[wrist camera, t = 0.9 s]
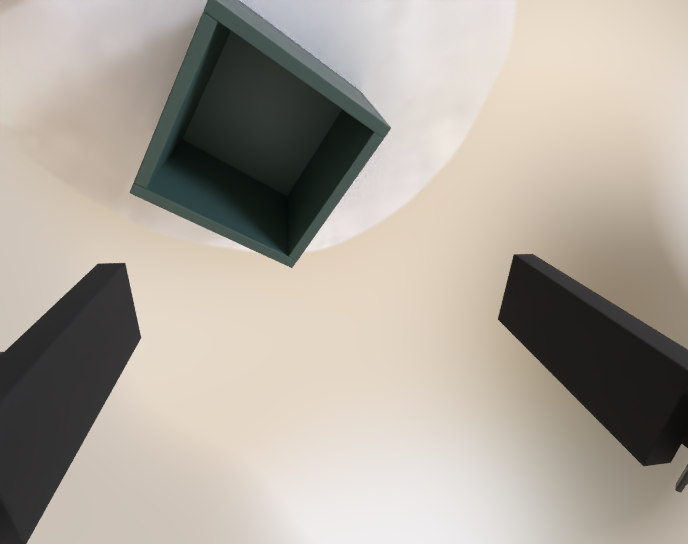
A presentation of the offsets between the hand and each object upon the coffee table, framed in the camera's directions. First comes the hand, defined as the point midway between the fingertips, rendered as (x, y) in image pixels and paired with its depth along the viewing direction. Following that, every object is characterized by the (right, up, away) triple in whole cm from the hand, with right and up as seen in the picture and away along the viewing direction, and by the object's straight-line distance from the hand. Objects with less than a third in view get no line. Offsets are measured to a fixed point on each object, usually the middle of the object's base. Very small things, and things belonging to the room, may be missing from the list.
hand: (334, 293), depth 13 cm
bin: (-7, +15, +21) cm, 26 cm away
